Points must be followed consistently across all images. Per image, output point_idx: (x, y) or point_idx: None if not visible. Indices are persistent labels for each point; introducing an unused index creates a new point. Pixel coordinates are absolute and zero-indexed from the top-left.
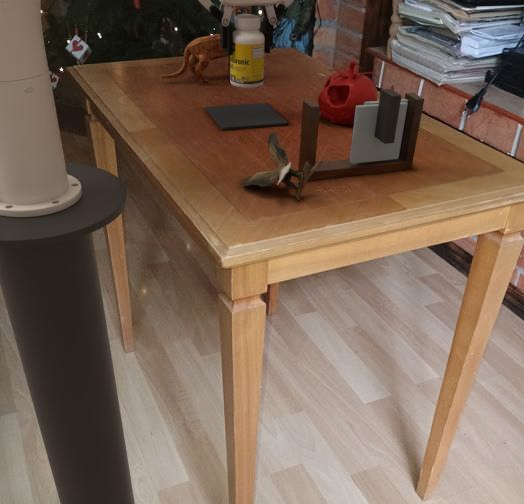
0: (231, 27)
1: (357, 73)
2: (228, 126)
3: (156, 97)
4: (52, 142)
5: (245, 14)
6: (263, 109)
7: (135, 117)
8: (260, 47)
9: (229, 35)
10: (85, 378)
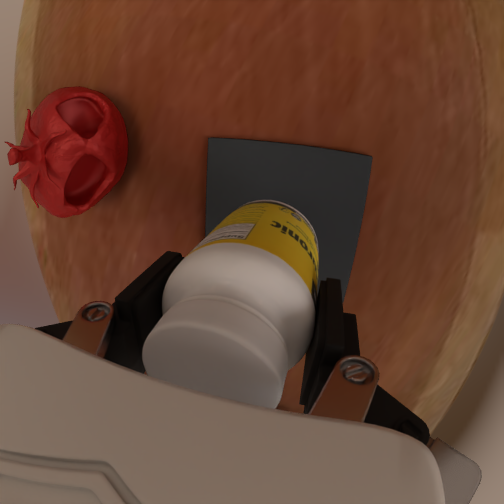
0: (326, 343)
1: (25, 127)
2: (356, 159)
3: (386, 382)
4: None
5: None
6: None
7: (476, 301)
8: (205, 242)
9: (339, 319)
10: None
